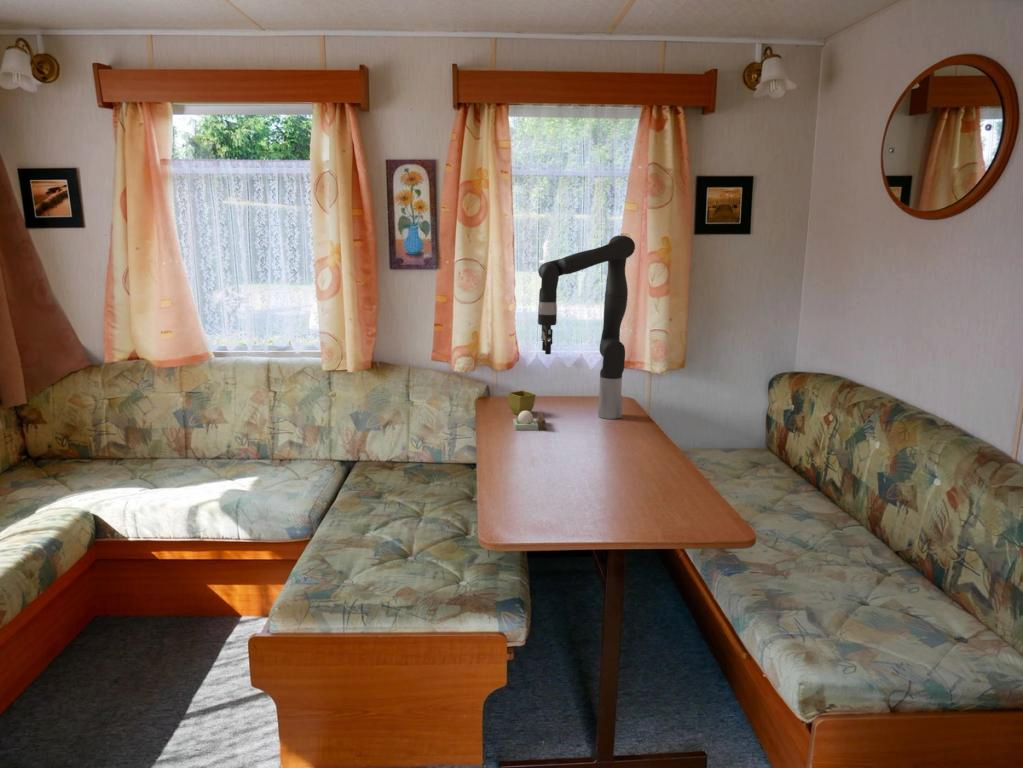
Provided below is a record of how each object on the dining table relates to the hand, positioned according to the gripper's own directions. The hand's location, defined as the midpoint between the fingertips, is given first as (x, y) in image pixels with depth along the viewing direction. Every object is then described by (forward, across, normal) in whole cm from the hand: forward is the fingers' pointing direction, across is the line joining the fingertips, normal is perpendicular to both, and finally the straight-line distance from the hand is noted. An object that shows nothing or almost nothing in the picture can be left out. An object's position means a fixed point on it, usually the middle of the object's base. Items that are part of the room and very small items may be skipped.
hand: (546, 352), depth 279 cm
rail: (+28, -12, +3) cm, 31 cm away
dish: (+28, -12, +10) cm, 32 cm away
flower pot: (+28, +8, +9) cm, 31 cm away
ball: (+28, -12, +10) cm, 31 cm away
